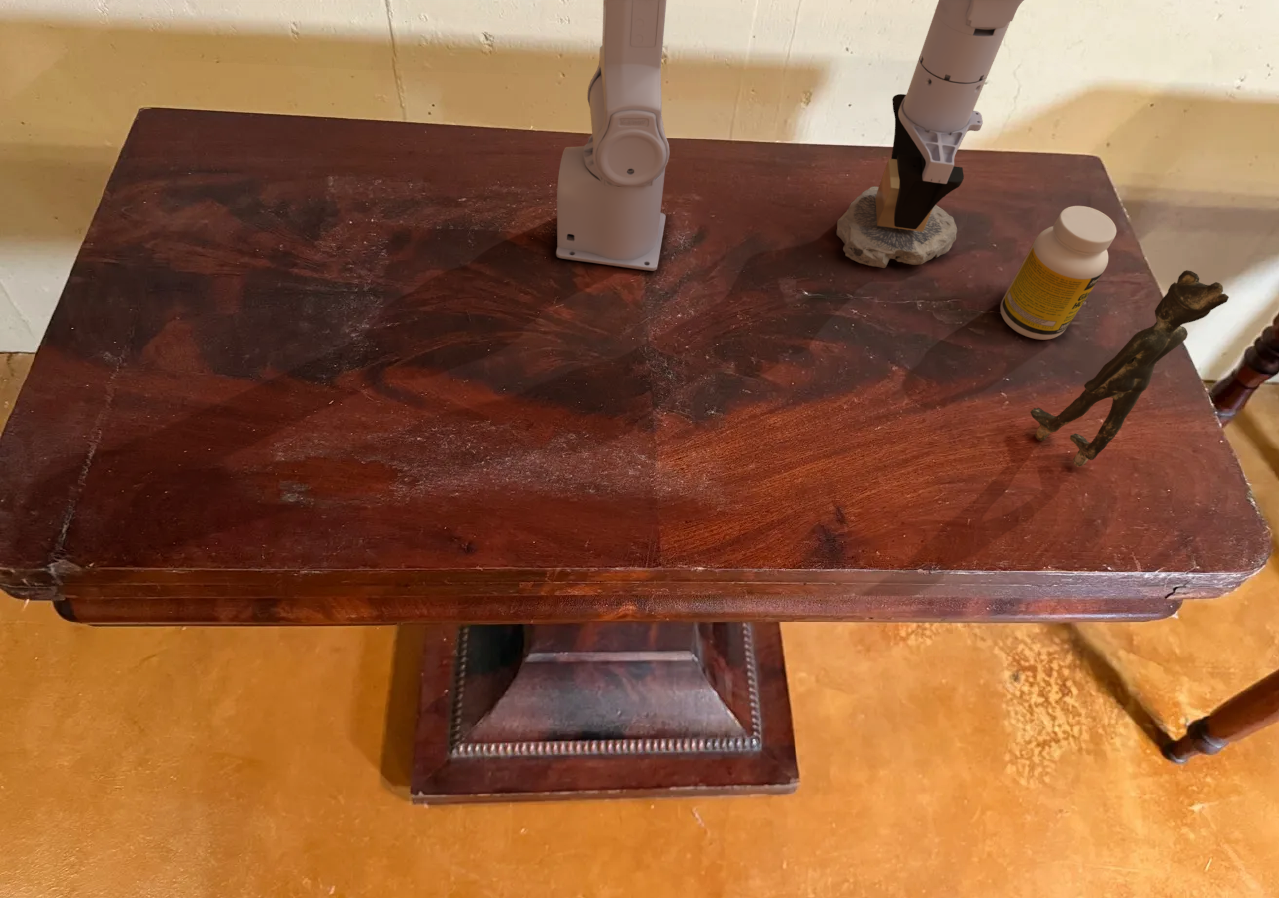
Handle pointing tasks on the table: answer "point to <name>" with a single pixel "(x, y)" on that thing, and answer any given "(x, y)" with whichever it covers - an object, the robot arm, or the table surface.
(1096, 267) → the pill bottle
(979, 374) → the table surface
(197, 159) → the table surface
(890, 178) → the block
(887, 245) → the fossil
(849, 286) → the table surface
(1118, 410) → the statue
